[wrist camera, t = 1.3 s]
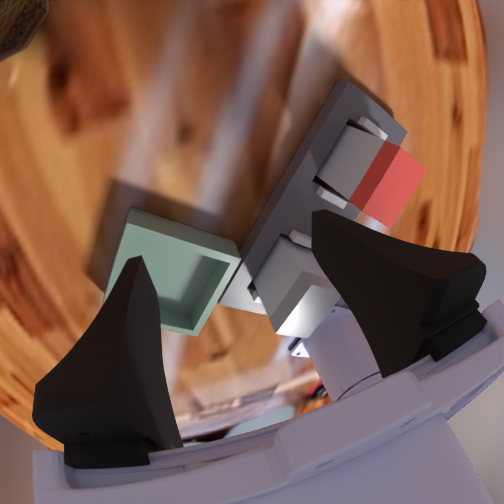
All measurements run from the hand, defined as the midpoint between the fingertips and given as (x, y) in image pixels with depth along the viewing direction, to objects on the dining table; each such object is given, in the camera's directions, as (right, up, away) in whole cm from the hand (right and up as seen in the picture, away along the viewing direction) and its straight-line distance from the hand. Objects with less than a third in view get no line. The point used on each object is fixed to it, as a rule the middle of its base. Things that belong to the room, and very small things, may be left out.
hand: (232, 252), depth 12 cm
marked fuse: (+8, +8, +10) cm, 14 cm away
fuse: (+3, 0, +13) cm, 14 cm away
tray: (-6, -1, +11) cm, 13 cm away
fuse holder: (+5, +4, +12) cm, 13 cm away
